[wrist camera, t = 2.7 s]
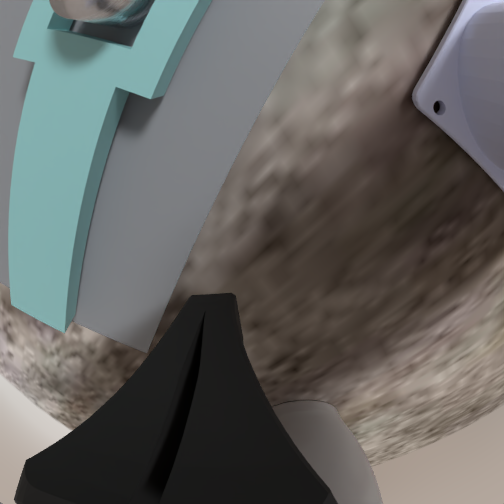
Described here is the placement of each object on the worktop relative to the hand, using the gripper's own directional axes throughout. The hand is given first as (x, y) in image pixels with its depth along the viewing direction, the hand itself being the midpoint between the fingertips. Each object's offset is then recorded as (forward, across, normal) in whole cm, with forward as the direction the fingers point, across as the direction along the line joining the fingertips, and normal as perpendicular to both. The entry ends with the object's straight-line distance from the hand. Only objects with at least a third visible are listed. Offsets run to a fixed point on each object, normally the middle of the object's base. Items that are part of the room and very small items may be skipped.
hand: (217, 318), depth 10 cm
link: (+2, +4, -6) cm, 7 cm away
